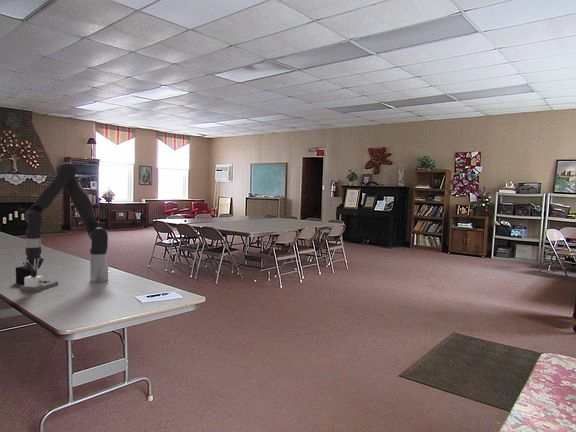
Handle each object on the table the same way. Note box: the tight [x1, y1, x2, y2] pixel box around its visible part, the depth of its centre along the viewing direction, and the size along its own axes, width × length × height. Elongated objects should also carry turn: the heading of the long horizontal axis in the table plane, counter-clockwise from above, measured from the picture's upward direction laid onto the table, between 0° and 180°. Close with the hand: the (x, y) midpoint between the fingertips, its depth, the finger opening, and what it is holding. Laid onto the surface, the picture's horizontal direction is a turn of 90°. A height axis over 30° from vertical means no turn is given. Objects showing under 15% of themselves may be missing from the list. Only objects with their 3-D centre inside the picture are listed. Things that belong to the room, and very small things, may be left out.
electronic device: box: [15, 265, 31, 285], centre depth 241 cm, size 4×10×10 cm, turn 71°
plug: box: [23, 275, 45, 287], centre depth 229 cm, size 9×6×7 cm, turn 81°
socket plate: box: [19, 279, 59, 293], centre depth 234 cm, size 11×16×2 cm
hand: (33, 276), depth 229 cm, fingers closed
